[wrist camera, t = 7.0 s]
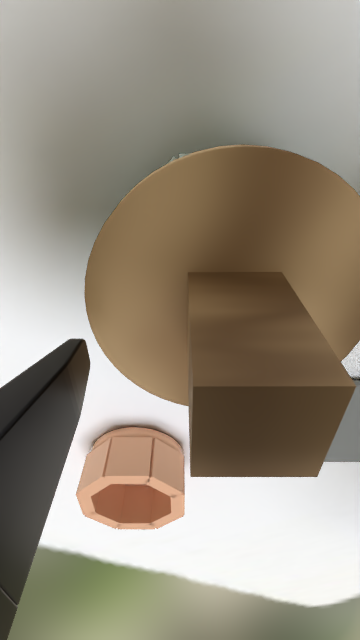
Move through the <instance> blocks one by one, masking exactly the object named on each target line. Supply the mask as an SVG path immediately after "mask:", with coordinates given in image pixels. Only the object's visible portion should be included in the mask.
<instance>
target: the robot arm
mask: <svg viewBox="0 0 360 640" xmlns="http://www.w3.org/2000/svg"><path fill="white" fill-rule="evenodd" d="M89 371H90V359H89V354H88V349H87V345H86V342H85V340H84V339H69V340H67V341H66V342H65V343H63V344H62V345H60V346H59V347H58V348H56V349H55V350H53V351H52V352H51V353H49V354H48V355H46V356H45V357H44V358H42V359H41V360H39V361H38V362H36V363H35V364H34V365H32V366H31V367H29V368H28V369H27V370H25V371H24V372H22V373H21V374H20V375H18V376H17V377H15V378H14V379H13V380H11V381H10V382H8V383H7V384H6V385H4V386H3V387H1V388H0V640H7V638H8V635H9V632H10V629H11V626H12V623H13V619H14V617H15V614H16V611H17V608H18V607H17V605H18V604H19V601H20V598H21V595H22V592H23V589H24V586H25V583H26V580H27V577H28V574H29V571H30V567H31V565H32V562H33V559H34V556H35V553H36V549H37V546H38V543H39V540H40V537H41V534H42V531H43V528H44V525H45V522H46V519H47V516H48V513H49V510H50V507H51V504H52V501H53V498H54V495H55V492H56V489H57V486H58V483H59V479H60V476H61V473H62V470H63V467H64V464H65V461H66V458H67V455H68V452H69V449H70V446H71V443H72V440H73V437H74V434H75V431H76V428H77V425H78V422H79V418H80V415H81V410H82V406H83V401H84V396H85V391H86V386H87V381H88V376H89Z"/></svg>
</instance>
